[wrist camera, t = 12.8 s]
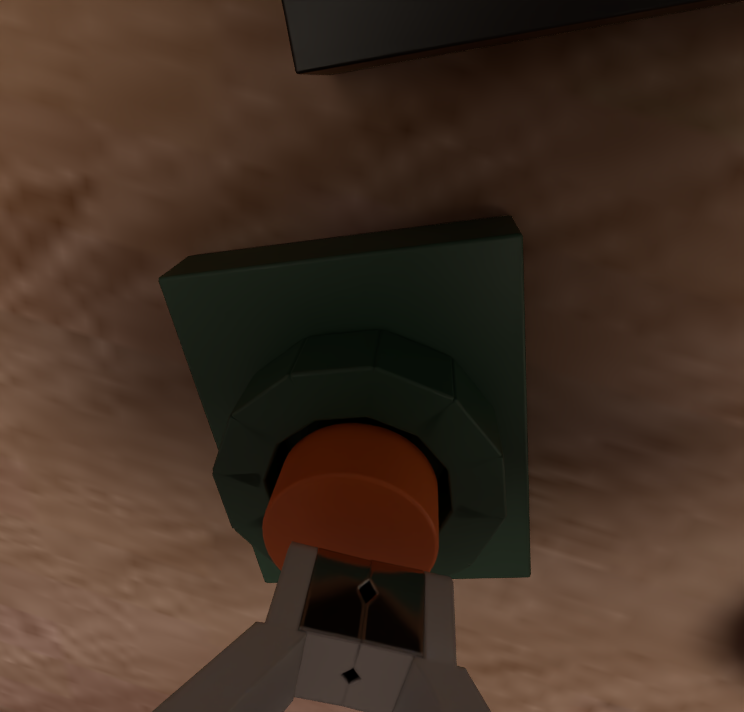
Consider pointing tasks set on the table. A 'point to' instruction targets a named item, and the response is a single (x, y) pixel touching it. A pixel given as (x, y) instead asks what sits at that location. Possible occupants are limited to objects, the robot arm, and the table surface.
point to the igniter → (371, 370)
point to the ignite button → (356, 497)
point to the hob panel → (443, 26)
